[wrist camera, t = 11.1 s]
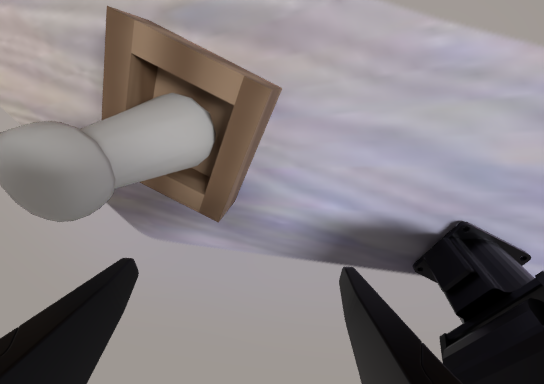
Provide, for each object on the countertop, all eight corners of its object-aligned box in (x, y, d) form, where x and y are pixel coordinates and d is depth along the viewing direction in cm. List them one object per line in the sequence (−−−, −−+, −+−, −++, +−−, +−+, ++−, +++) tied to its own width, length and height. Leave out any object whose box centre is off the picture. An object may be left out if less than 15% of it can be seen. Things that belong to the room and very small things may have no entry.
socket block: (282, 88, 18) (271, 89, 15) (234, 201, 24) (218, 222, 20) (149, 20, 18) (106, 5, 15) (133, 150, 24) (99, 162, 20)
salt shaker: (195, 169, 22) (54, 262, 11) (153, 120, 21) (-59, 165, 9) (237, 135, 20) (114, 208, 8) (193, 76, 18) (-27, 66, 7)
